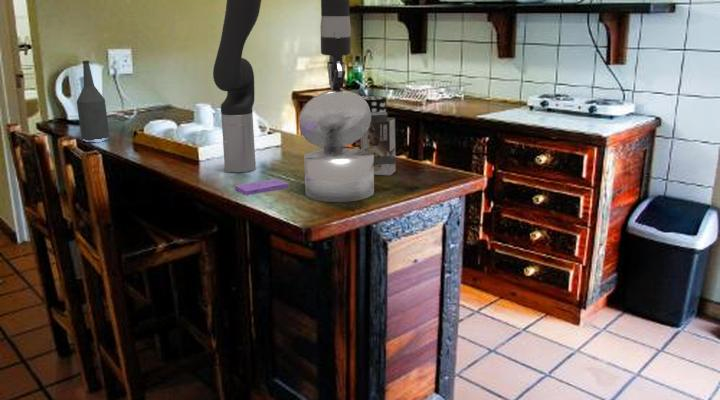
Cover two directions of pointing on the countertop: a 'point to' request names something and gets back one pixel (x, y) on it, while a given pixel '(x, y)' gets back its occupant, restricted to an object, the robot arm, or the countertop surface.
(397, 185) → the countertop surface
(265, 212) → the countertop surface
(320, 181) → the pot
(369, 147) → the coffee box
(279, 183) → the sponges
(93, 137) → the bottle
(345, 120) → the lid
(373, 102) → the white-spotted black cylinder
